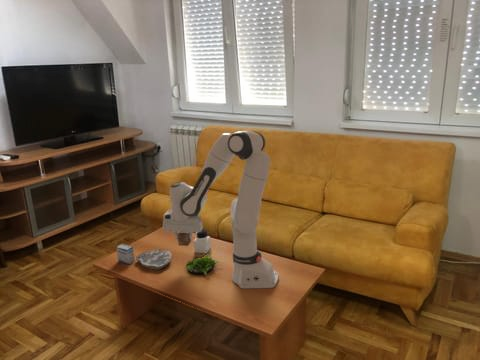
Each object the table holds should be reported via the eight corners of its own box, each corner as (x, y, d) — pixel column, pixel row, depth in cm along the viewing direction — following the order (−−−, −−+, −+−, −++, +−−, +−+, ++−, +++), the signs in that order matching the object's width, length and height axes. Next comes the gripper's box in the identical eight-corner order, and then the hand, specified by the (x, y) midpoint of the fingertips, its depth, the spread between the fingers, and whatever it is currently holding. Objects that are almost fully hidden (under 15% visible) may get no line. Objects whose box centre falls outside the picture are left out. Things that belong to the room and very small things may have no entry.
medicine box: (118, 261, 222) (115, 247, 219) (123, 257, 226) (121, 243, 223) (129, 264, 218) (127, 250, 216) (135, 260, 222) (133, 246, 219)
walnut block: (191, 241, 214) (189, 230, 212) (188, 245, 209) (186, 235, 208) (182, 240, 215) (180, 230, 213) (178, 245, 211) (177, 234, 209)
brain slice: (180, 259, 222) (180, 254, 221) (158, 274, 209) (158, 269, 208) (153, 251, 232) (152, 246, 231) (131, 264, 219) (130, 259, 218)
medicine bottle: (210, 247, 233) (209, 228, 229) (206, 253, 226) (205, 233, 222) (199, 246, 235) (197, 227, 231) (194, 252, 228) (192, 232, 224)
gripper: (202, 211, 208) (205, 236, 212) (164, 210, 212) (168, 235, 217) (199, 216, 202) (201, 242, 206) (159, 215, 206) (163, 240, 211)
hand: (184, 238), depth 211 cm, fingers closed on walnut block, 5 cm apart
